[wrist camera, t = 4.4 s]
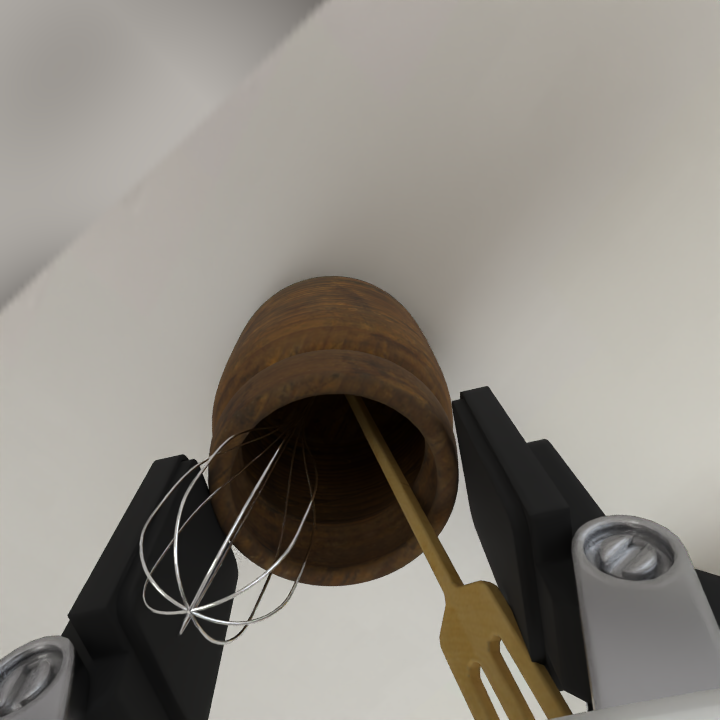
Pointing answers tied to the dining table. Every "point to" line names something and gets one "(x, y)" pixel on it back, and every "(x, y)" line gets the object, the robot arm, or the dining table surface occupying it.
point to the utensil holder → (348, 473)
